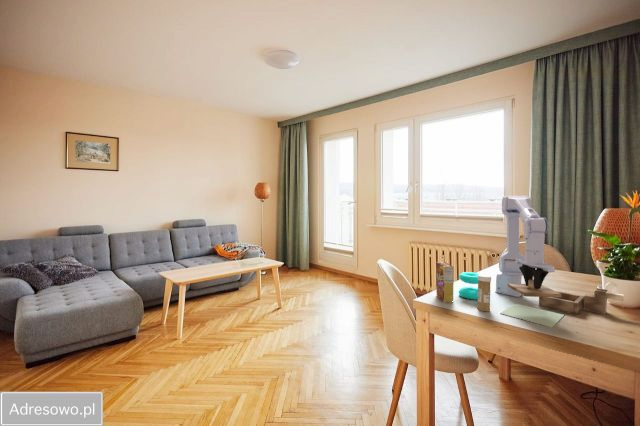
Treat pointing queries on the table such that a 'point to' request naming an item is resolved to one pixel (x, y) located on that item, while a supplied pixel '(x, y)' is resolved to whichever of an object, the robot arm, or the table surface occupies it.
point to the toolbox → (563, 303)
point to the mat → (533, 315)
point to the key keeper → (596, 301)
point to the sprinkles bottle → (484, 292)
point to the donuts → (469, 291)
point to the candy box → (445, 281)
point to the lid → (533, 290)
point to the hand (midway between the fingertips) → (533, 287)
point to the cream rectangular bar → (613, 296)
